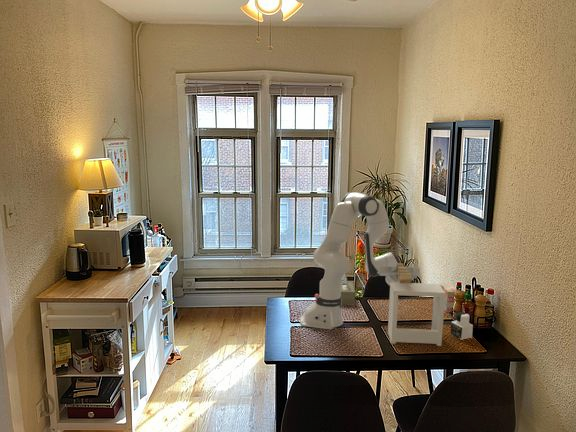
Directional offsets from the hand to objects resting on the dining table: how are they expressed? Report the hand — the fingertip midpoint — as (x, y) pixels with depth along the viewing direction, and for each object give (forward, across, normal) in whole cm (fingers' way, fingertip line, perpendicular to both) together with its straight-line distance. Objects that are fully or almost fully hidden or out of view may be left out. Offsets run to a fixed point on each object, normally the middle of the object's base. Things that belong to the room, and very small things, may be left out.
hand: (400, 267), depth 224 cm
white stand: (-6, +6, +34) cm, 35 cm away
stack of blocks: (-47, +32, +10) cm, 58 cm away
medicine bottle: (-10, +29, +31) cm, 44 cm away
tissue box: (-50, -25, +9) cm, 56 cm away
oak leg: (+4, 0, +5) cm, 6 cm away
